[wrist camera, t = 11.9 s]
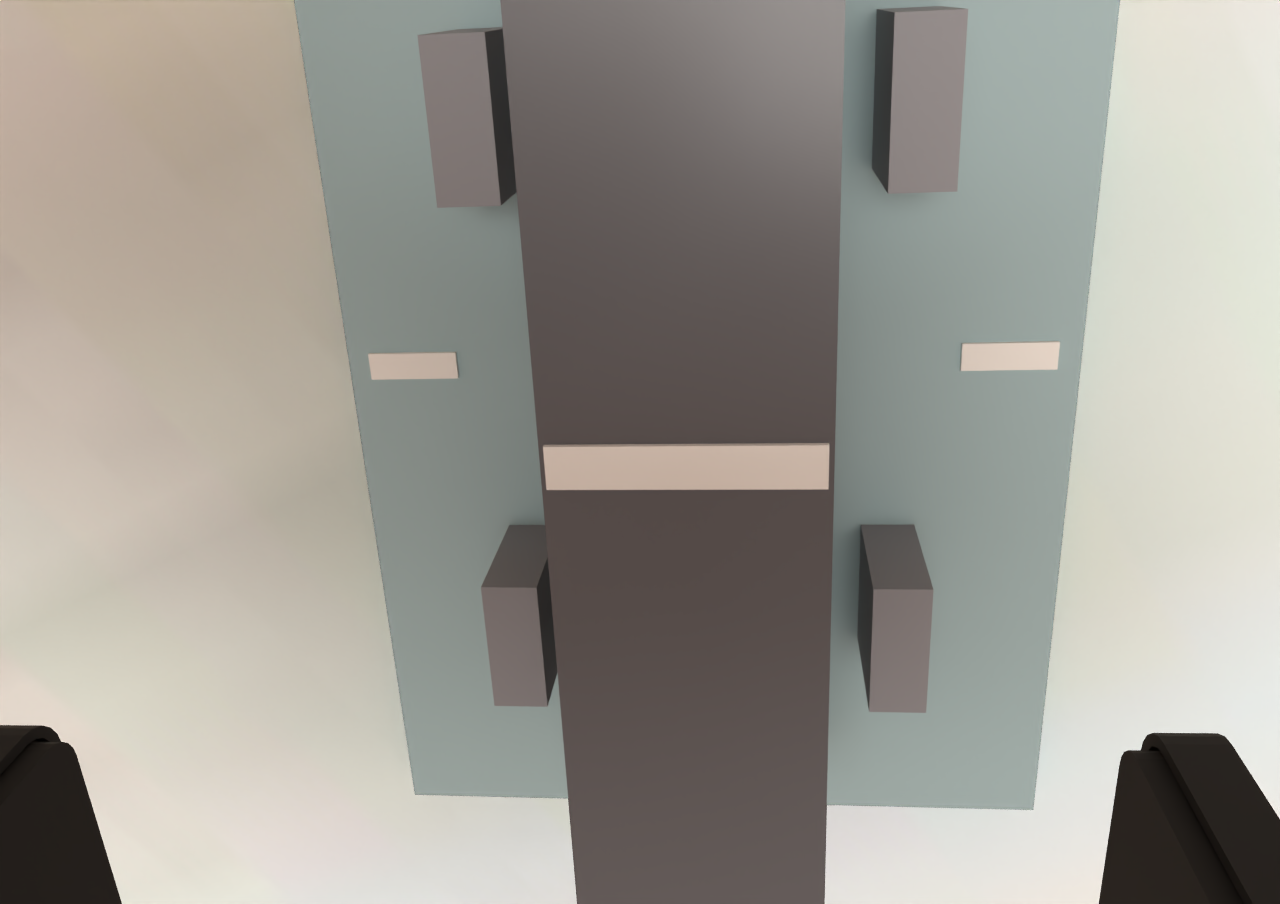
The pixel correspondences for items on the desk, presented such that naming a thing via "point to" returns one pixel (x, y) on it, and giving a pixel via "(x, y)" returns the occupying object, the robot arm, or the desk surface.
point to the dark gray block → (686, 427)
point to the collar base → (865, 392)
